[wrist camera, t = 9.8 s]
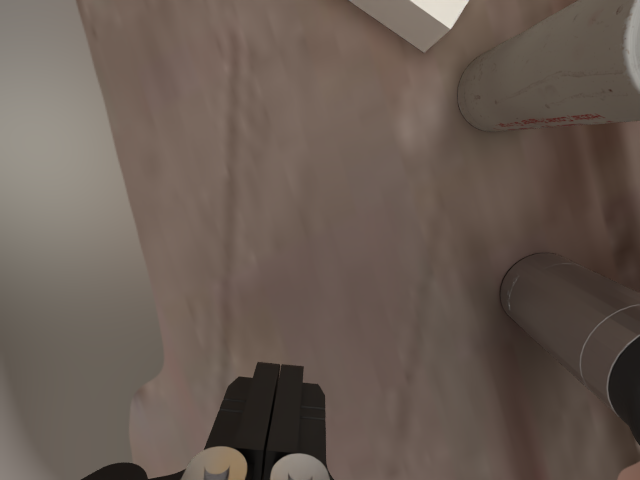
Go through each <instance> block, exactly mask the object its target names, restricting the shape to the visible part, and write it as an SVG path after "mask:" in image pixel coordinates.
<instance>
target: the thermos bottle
mask: <svg viewBox="0 0 640 480" xmlns="http://www.w3.org/2000/svg"><path fill="white" fill-rule="evenodd" d="M457 97H458V105H459V108H460V111H461V113H462V114H463V116H464V118H465V119H466V120H467V121H468V122H469V123H470V124H471V125H472V126H474V127H475V128H478V129H480V130H483V131H489V132H492V131H509V130H522V129H536V128H549V127H562V126H576V125H590V124H603V123H616V122H630V121H640V0H579V1H577V2H575V3H573V4H571V5H570V6H568V7H566V8H564V9H562V10H561V11H559V12H557V13H555V14H554V15H552V16H550V17H548V18H546V19H545V20H543V21H541V22H539V23H538V24H536V25H534V26H533V27H531V28H530V29H528V30H526V31H525V32H523V33H521V34H519V35H517V36H515V37H513V38H511V39H509V40H507V41H505V42H503V43H502V44H500V45H498V46H496V47H494V48H493V49H491V50H489V51H487V52H485V53H484V54H482V55H480V56H479V57H478V58H476V59H475V60H474V61H473V62H472V63H471V64H470V65H469V66H468V67H467V68H466V70H465V71H464V73H463V75H462V77H461V80H460V83H459V87H458V96H457Z"/></svg>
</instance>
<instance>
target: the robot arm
mask: <svg viewBox="0 0 640 480" xmlns="http://www.w3.org/2000/svg"><path fill="white" fill-rule="evenodd" d="M500 297H501V303H502V306H503V309H504V310H505V312H506V313H507V315H509V316H510V317H511V318H512V319H513V320H514V321H515V322H516V323H517V324H518V325H519V326H520V327H521V328H522V329H524V330H525V331H526V332H527V333H528V334H529V335H530V336H531V337H532V338H533V339H534V340H535V341H536V342H538V343H539V344H540V345H541V346H542V347H543V348H544V349H545V350H546V351H547V352H548V353H550V354H551V355H552V356H553V357H554V358H555V359H556V360H557V361H558V362H559V363H560V364H562V365H563V366H564V367H565V368H566V369H567V370H568V371H569V372H570V373H571V374H573V375H574V376H575V377H576V378H577V379H578V380H579V381H580V382H581V383H582V384H583V385H585V386H586V387H587V388H588V389H589V390H590V391H591V392H592V393H594V394H595V395H596V396H597V397H598V398H599V399H600V400H601V401H602V402H603V403H604V404H606V405H607V406H608V407H609V408H610V409H611V410H612V411H613V412H614V413H615V414H617V415H618V416H619V417H620V418H621V419H622V420H623V421H624V422H625V423H626V424H627V425H628V426H629V427H630V429H631V431H632V434H633V435H634V437H635V439H636V441H637V442H638V444H639V445H640V293H638V292H636V291H634V290H632V289H630V288H627V287H625V286H623V285H621V284H619V283H617V282H615V281H613V280H610V279H608V278H606V277H604V276H602V275H600V274H598V273H596V272H593V271H591V270H589V269H587V268H585V267H583V266H581V265H579V264H577V263H575V262H572V261H570V260H568V259H566V258H564V257H562V256H559V255H556V254H551V253H539V254H534V255H531V256H528V257H526V258H524V259H522V260H520V261H519V262H518V263H516V264H515V265H514V266H513V267H512V268H511V269H510V270H509V271H508V273H507V275H506V276H505V278H504V280H503V283H502V285H501V292H500ZM303 368H304V366H294V365H284V364H282V365H281V371H280V364H273V363H263V362H258V363H257V366H256V369H255V372H254V376H253V378H248V377H238V378H237V379H236V380H235V381H233V382H232V383H231V384H230V385H229V386H228V388H227V391H226V394H225V396H224V400H223V401H222V404H221V407H220V410H219V412H218V414H217V417H216V420H215V422H214V425H213V427H212V430H211V433H210V435H209V438H208V441H207V443H206V446H205V448H204V451H202V452H200V453H199V454H197V455H196V456H195V457H194V458H193V459H192V460H191V461H190V463H189V465H188V466H187V468H186V469H185V470H183V471H181V472H178V473H175V474H172V475H168V476H162V477H157V478H152V479H148V478H147V474H146V472H145V471H144V469H142V468H141V467H140V466H138V465H136V464H133V463H116V464H112V465H108V466H106V467H103V468H101V469H99V470H97V471H95V472H94V473H92V474H90V475H88V476H87V477H85V478H83V479H81V480H334V479H333V478H332V476H331V475H330V473H329V471H328V468H327V465H326V427H325V395H324V393H323V391H322V390H321V388H320V386H319V385H318V384H310V383H302V381H303ZM279 372H280V376H279Z"/></svg>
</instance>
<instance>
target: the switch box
mask: <svg viewBox="0 0 640 480" xmlns="http://www.w3.org/2000/svg"><path fill="white" fill-rule="evenodd" d="M349 1H350V2H351V3H353V4H354V5H356V6H357V7H359V8H360V9H362V10H363V11H364V12H366V13H367V14H369V15H370V16H372V17H373V18H375V19H376V20H377V21H379V22H380V23H382V24H383V25H385V26H386V27H388V28H389V29H390V30H392V31H393V32H395V33H396V34H398V35H399V36H401V37H402V38H403V39H405V40H406V41H408V42H409V43H411V44H412V45H414V46H415V47H416V48H418V49H419V50H421V51H422V52H424V53H425V52H426V51H427V50H428V49H429V48H430V47H431V46H433V45H434V44H435V43H436V42H437V41H438V40H439V39H440V38H442V37H443V36H444V35H445V34H446V33H447V32H448V31H449V30H451V28H452V27H453V25H454V23H455V22H456V20H457V19H458V17H459V15H460V14H461V12H462V11H463V9H464V7H465V6H466V4H467V3H468V1H469V0H349Z"/></svg>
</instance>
